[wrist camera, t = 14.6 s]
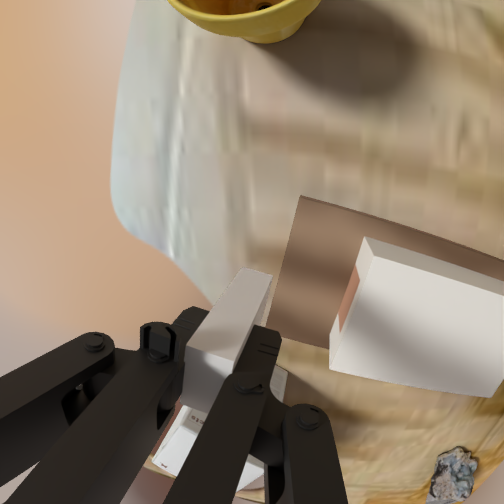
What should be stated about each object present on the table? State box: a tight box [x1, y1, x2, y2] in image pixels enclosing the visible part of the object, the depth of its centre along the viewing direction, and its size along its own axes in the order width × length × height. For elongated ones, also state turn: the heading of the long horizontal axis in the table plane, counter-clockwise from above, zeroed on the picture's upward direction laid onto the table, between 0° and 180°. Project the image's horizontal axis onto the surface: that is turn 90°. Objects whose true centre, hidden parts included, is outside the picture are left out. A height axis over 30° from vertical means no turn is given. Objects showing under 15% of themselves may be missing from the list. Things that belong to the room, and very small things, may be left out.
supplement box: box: [152, 365, 288, 492], centre depth 26 cm, size 7×7×13 cm
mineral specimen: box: [425, 446, 477, 504], centre depth 29 cm, size 10×8×10 cm
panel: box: [329, 236, 504, 398], centre depth 22 cm, size 9×16×5 cm, turn 77°
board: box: [265, 195, 504, 349], centre depth 24 cm, size 12×24×4 cm, turn 78°
